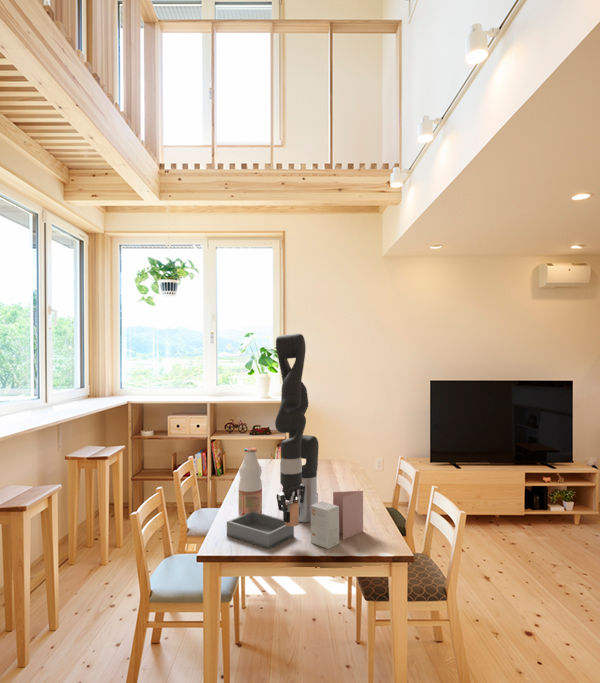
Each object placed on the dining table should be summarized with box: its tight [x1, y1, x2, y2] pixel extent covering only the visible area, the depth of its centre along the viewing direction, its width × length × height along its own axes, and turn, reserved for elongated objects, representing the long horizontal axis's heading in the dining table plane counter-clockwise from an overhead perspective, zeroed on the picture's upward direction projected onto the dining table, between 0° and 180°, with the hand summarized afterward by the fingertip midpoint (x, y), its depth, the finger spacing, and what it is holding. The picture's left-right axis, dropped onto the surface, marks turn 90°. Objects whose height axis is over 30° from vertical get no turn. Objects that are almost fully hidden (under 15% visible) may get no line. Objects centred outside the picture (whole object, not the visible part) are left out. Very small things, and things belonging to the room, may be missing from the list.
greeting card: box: [332, 490, 364, 540], centre depth 165 cm, size 11×7×15 cm, turn 98°
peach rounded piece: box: [284, 500, 300, 527], centre depth 156 cm, size 5×5×7 cm
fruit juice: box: [237, 447, 263, 517], centre depth 182 cm, size 9×9×28 cm
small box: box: [310, 501, 340, 550], centre depth 158 cm, size 8×6×13 cm
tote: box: [226, 511, 295, 550], centre depth 164 cm, size 14×20×5 cm
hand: (291, 519), depth 156 cm, fingers closed on peach rounded piece, 5 cm apart
